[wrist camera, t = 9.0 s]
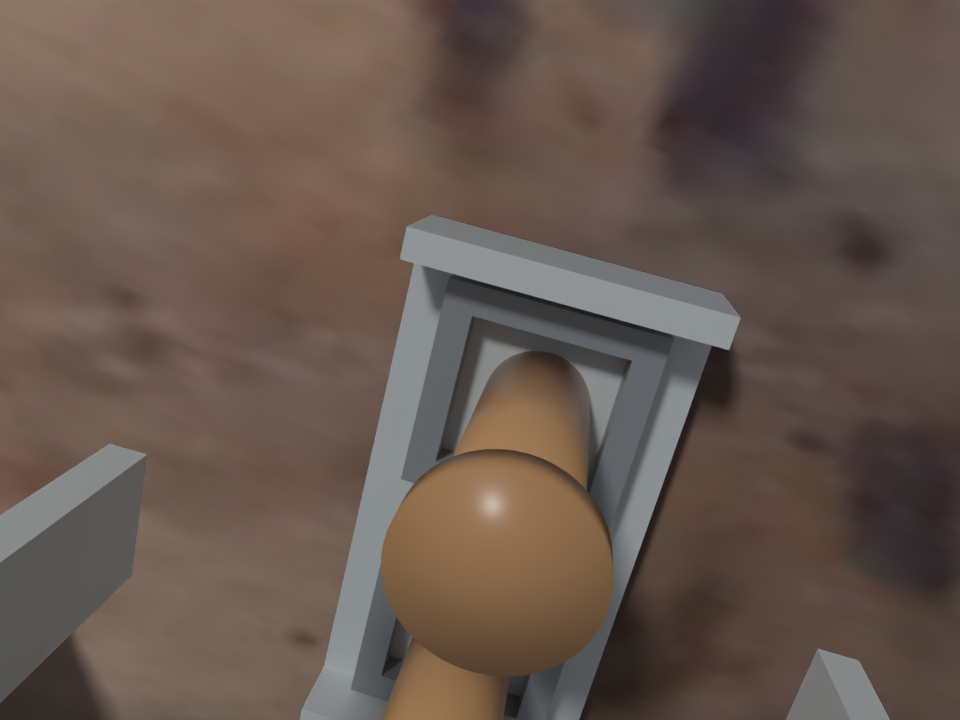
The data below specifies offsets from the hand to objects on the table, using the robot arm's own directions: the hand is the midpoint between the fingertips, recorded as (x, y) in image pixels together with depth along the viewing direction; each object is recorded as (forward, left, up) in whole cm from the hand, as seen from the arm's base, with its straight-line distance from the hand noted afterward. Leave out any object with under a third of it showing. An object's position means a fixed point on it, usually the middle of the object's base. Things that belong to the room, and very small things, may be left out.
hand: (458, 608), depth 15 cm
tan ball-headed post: (+1, 0, -12) cm, 12 cm away
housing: (0, -4, -14) cm, 14 cm away
